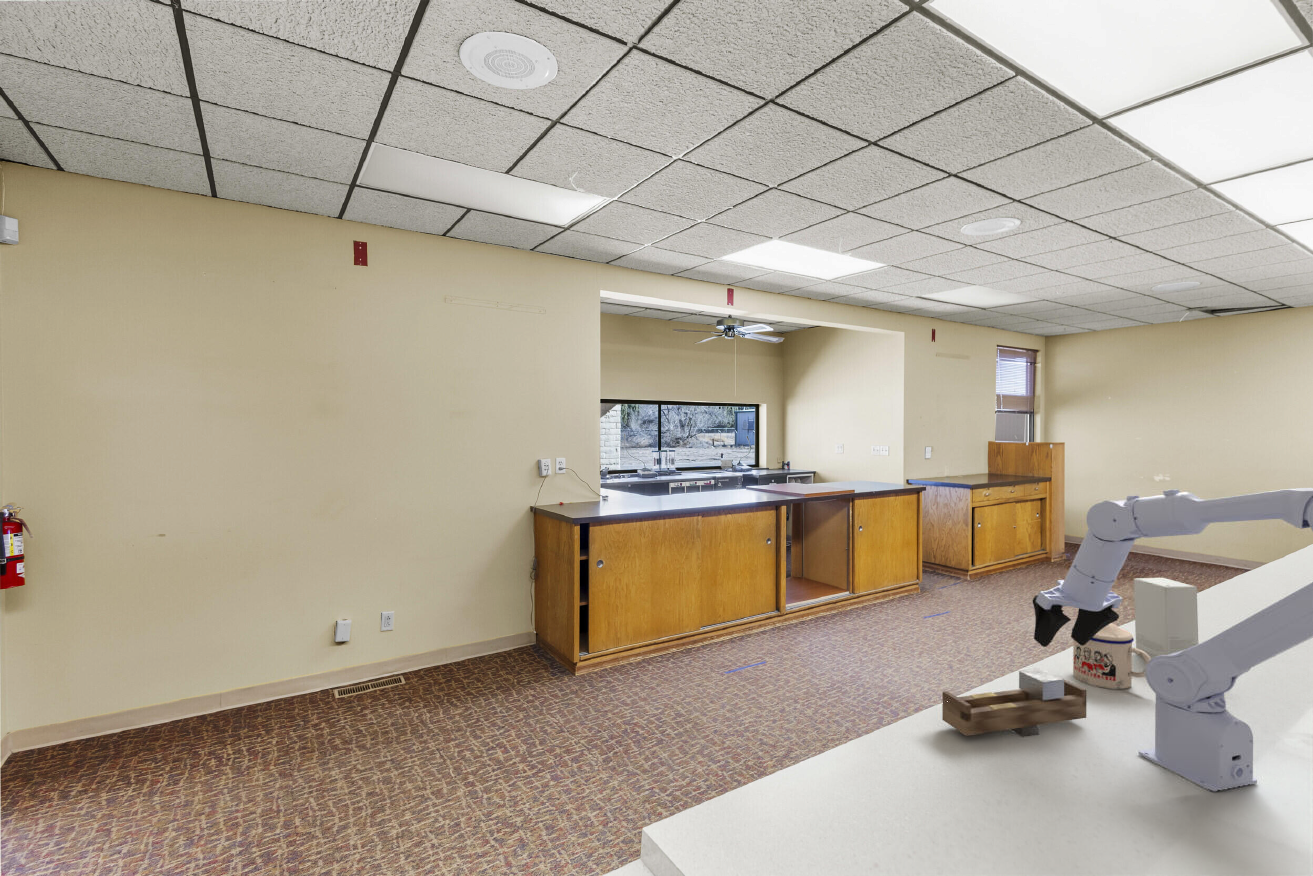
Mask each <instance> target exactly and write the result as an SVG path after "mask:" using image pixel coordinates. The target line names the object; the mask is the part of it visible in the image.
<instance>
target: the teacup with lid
mask: <svg viewBox="0 0 1313 876" xmlns="http://www.w3.org/2000/svg"><path fill="white" fill-rule="evenodd" d="M1073 627H1074V625H1073V626H1072V628H1071V631H1072V630H1073ZM1134 639H1135V638H1134V637H1133V634H1132V633H1131V632H1129V631H1128V630H1126V629H1125V628H1121V627H1119V626H1118V625H1116V624H1114V622H1112V623H1110V624H1109V625H1107V626H1105V627H1104V628H1102V629H1101V630H1100V631H1099V632H1098V633H1097V634H1096V635H1094V636H1093V637H1092V638H1091V639H1090V640H1089V641H1088V642H1087V643H1086V644H1085V645H1083V646H1081V645H1080V644H1079V643H1077V642H1076V641H1075V640H1074V639H1073V638H1072V640H1073V643H1072V644H1073V645H1072V646H1073V648H1072V649H1073V653H1072V656H1073V659H1072V663H1073V664H1072V673H1073V676H1074V677H1075V678H1076V679H1078V680H1079V681H1081V682H1084V683H1085V684H1087V685H1091V686H1094V687H1097V686H1098V688H1103V689H1108V690H1124V689H1125V690H1126V689H1128V688H1130V687H1131V686H1132V679H1133V678H1143V677H1146V676H1145V668H1146V665H1147V663H1148V662H1149V661H1150V660H1151V658H1150V656H1149V655H1148V654H1147V653H1145V652H1144V651H1142V650H1140V649H1136V647H1133V642H1134ZM1133 653H1134V654H1136V655H1139V656H1141V657H1142V658H1143V659H1144V661H1145V668H1144V669H1143V671H1142V672H1136V671H1133V667H1132V665H1133V661H1132V660H1133V658H1132V657H1133V656H1132V655H1133ZM1132 677H1133V678H1132Z"/></svg>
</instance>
